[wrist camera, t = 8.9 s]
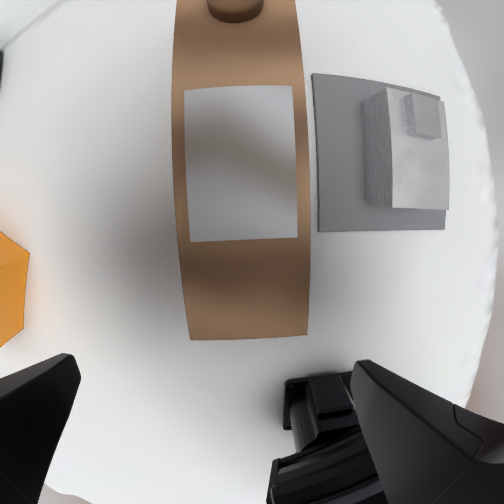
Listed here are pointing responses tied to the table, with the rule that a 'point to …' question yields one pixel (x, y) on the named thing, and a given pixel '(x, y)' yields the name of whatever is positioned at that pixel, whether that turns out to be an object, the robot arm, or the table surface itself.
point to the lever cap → (405, 150)
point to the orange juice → (12, 287)
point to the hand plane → (241, 168)
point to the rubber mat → (354, 161)
